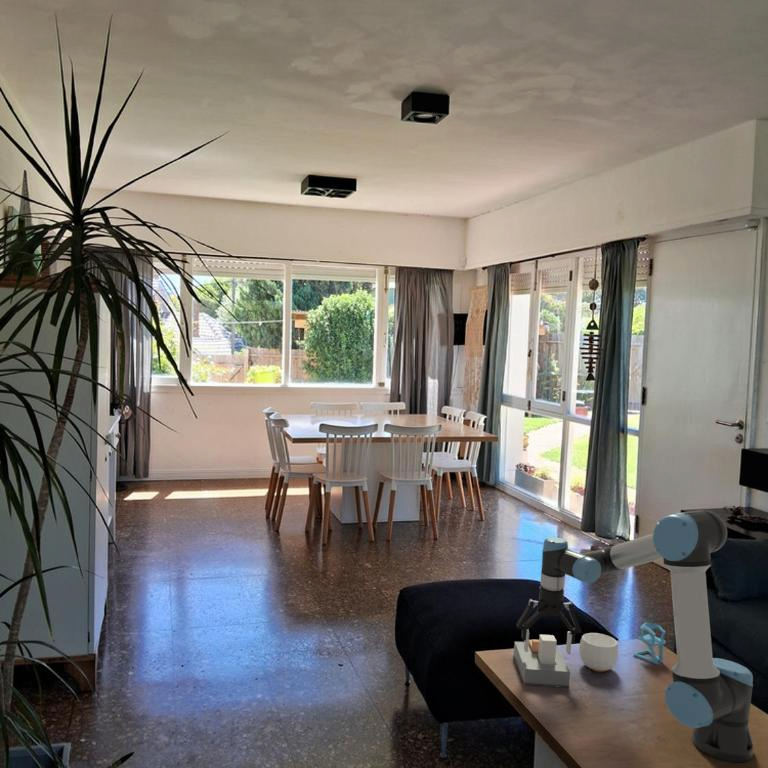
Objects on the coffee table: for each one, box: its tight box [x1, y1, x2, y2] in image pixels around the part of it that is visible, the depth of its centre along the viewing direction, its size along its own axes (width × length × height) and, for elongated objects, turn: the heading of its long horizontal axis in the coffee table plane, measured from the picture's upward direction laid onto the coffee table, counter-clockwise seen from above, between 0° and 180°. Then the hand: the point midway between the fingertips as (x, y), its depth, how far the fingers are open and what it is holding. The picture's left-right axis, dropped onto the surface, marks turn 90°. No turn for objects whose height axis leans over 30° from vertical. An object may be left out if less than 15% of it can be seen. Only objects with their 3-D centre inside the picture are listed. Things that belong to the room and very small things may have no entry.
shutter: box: [528, 638, 539, 652], centre depth 241 cm, size 7×7×4 cm
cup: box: [579, 632, 619, 673], centre depth 240 cm, size 12×12×10 cm
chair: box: [633, 622, 667, 665], centre depth 250 cm, size 8×8×12 cm
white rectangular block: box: [538, 634, 558, 665], centre depth 232 cm, size 4×4×12 cm
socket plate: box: [513, 641, 571, 688], centre depth 236 cm, size 20×14×5 cm
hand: (546, 651), depth 232 cm, fingers open, 13 cm apart
